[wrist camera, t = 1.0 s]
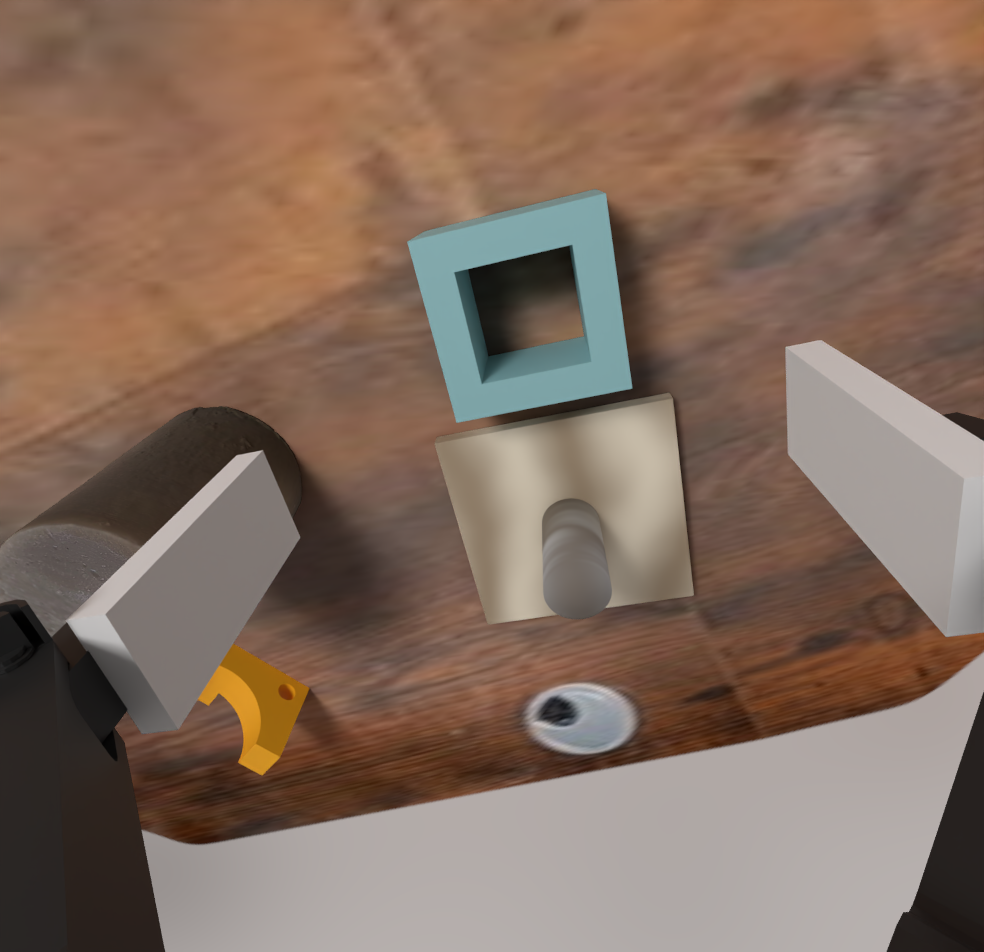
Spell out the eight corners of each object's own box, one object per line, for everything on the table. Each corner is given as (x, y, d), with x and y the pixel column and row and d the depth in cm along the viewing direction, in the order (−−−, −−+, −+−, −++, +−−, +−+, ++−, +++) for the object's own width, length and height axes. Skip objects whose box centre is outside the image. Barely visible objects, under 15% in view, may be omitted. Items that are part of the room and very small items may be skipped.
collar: (466, 390, 36) (456, 422, 32) (424, 231, 32) (407, 241, 28) (619, 359, 35) (632, 388, 30) (595, 189, 31) (605, 193, 27)
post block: (488, 615, 44) (479, 702, 37) (436, 437, 38) (414, 500, 31) (690, 586, 42) (722, 673, 34) (669, 392, 36) (703, 449, 28)
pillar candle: (229, 376, 37) (55, 496, 23) (335, 497, 40) (235, 663, 27) (123, 455, 40) (-85, 602, 26) (230, 562, 43) (93, 741, 30)
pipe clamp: (148, 639, 47) (94, 705, 41) (172, 605, 45) (119, 669, 40) (283, 715, 50) (250, 787, 44) (310, 686, 48) (280, 757, 43)
